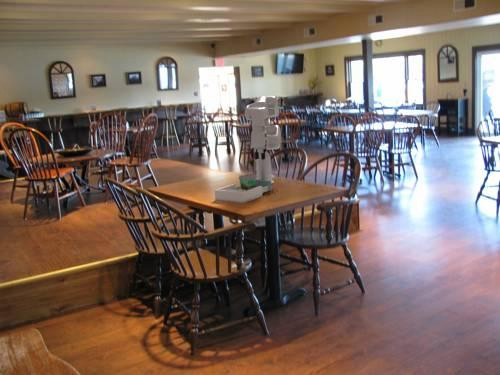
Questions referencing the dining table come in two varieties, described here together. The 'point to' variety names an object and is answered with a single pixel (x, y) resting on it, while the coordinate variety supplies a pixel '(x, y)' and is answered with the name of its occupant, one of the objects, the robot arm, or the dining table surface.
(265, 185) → the tray
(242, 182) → the food container
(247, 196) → the shallow white open box
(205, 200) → the dining table surface
